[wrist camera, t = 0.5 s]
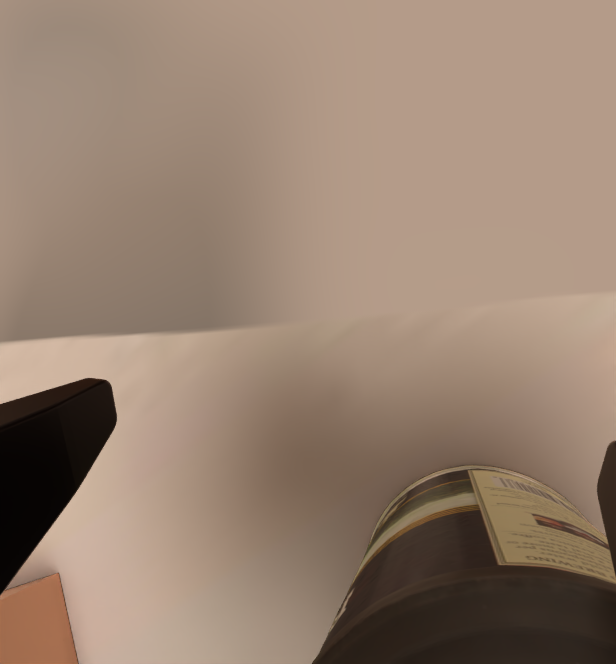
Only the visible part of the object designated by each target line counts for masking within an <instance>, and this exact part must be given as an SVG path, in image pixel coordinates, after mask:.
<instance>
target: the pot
mask: <svg viewBox="0 0 616 664" xmlns="http://www.w3.org/2000/svg"><path fill="white" fill-rule="evenodd" d="M0 664H78V661H77V657H76V652H75V648H74V643H73V638H72V634H71V629H70V624H69V620H68V615H67V610H66V606H65V601H64V597H63V592H62V587H61V583H60V578H59V573H57V574H54V575H51V576H48V577H45V578H41V579H38V580H35V581H32V582H29V583H26V584H23V585H20V586H17V587H14V588H11V589H7V590H4V592H3V593H2V594H1V596H0Z"/></svg>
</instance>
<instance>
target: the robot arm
mask: <svg viewBox="0 0 616 664" xmlns="http://www.w3.org/2000/svg"><path fill="white" fill-rule="evenodd" d="M116 422H117V413H116V408H115V402H114V397H113V391H112V387H111V384H110V383H109V382H108V381H107V380H103V379H95V378H86V379H82V380H79V381H76V382H72V383H69V384H66V385H62V386H59V387H56V388H52V389H49V390H46V391H43V392H39V393H36V394H33V395H29V396H26V397H23V398H19V399H16V400H13V401H9V402H6V403H3V404H0V596H1V594H2V593H3V592H4V590H5V589H6V587H7V586H8V585H9V583H10V582H11V581H12V579H13V578H14V577H15V575H16V574H17V573H18V571H19V570H20V568H21V567H22V566H23V564H24V563H25V562H26V560H27V559H28V558H29V556H30V555H31V553H32V552H33V551H34V549H35V548H36V547H37V545H38V544H39V543H40V541H41V540H42V538H43V537H44V536H45V534H46V533H47V532H48V530H49V529H50V528H51V526H52V525H53V523H54V522H55V521H56V519H57V518H58V517H59V515H60V514H61V513H62V511H63V510H64V509H65V507H66V506H67V504H68V503H69V502H70V500H71V499H72V497H73V496H74V495H75V493H76V492H77V490H78V489H79V487H80V485H81V484H82V482H83V481H84V479H85V477H86V476H87V474H88V472H89V471H90V469H91V467H92V465H93V464H94V462H95V460H96V459H97V457H98V455H99V454H100V452H101V450H102V449H103V447H104V445H105V444H106V442H107V440H108V438H109V437H110V435H111V433H112V432H113V430H114V428H115V425H116ZM597 494H598V500H599V504H600V509H601V513H602V518H603V522H604V527H605V532H606V536H607V541H608V545H609V550H610V554H611V559H612V563H613V568H614V572H615V576H616V441H613V442H611V443H610V444H609V446H608V448H607V451H606V454H605V458H604V462H603V465H602V469H601V472H600V476H599V479H598V485H597Z"/></svg>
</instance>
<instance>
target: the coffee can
mask: <svg viewBox="0 0 616 664" xmlns="http://www.w3.org/2000/svg"><path fill="white" fill-rule="evenodd" d="M312 664H616V576H615V572H614V568H613V563H612V559H611V554H610V550H609V545H608V541H607V538H606V537H605V536H604V535H603V534H602V533H601V532H599V531H598V530H597V529H596V528H595V527H594V526H592V525H591V524H590V523H589V522H588V521H587V520H586V519H585V518H584V516H583V515H582V514H581V513H580V512H579V511H578V510H577V509H576V508H575V507H574V506H573V505H572V504H571V503H570V502H569V501H568V500H567V499H566V498H564V497H563V496H561V495H560V494H558V493H557V492H555V491H554V490H553V489H551V488H549V487H548V486H546V485H544V484H542V483H540V482H538V481H537V480H535V479H533V478H531V477H528V476H525V475H523V474H520V473H517V472H514V471H510V470H507V469H502V468H497V467H490V466H475V465H467V466H460V467H455V468H449V469H445V470H441V471H438V472H435V473H433V474H430V475H428V476H426V477H424V478H422V479H420V480H418V481H417V482H415V483H413V484H412V485H410V486H409V487H408V488H406V489H405V490H404V491H403V492H402V493H400V494H399V495H398V496H397V497H396V498H395V499H394V500H393V501H392V502H391V503H390V504H389V506H388V507H387V508H386V510H385V511H384V513H383V514H382V516H381V518H380V519H379V521H378V523H377V525H376V527H375V530H374V532H373V535H372V537H371V540H370V544H369V546H368V549H367V552H366V554H365V556H364V559H363V561H362V563H361V565H360V568H359V570H358V572H357V574H356V576H355V578H354V580H353V583H352V585H351V587H350V589H349V591H348V594H347V596H346V598H345V600H344V602H343V604H342V606H341V608H340V609H339V611H338V613H337V616H336V618H335V620H334V622H333V624H332V626H331V628H330V631H329V633H328V635H327V638H326V640H325V642H324V644H323V646H322V648H321V651H320V653H319V654H318V656H317V657H316V659H315V660H314V661H313V663H312Z"/></svg>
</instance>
